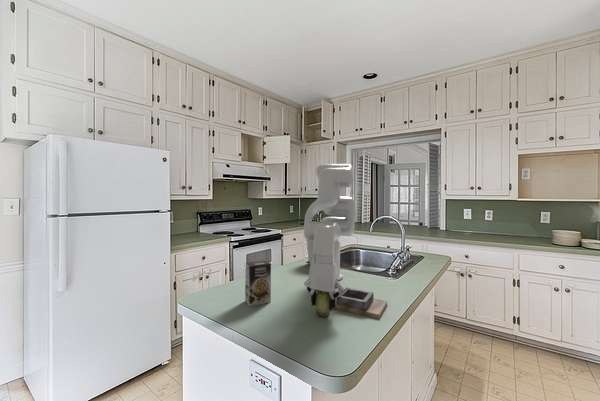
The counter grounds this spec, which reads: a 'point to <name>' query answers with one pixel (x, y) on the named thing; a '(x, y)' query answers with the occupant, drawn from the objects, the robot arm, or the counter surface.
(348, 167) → the robot arm
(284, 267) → the counter surface
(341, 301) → the collar stand
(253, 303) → the coffee box
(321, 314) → the fennel bulb
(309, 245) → the canister
